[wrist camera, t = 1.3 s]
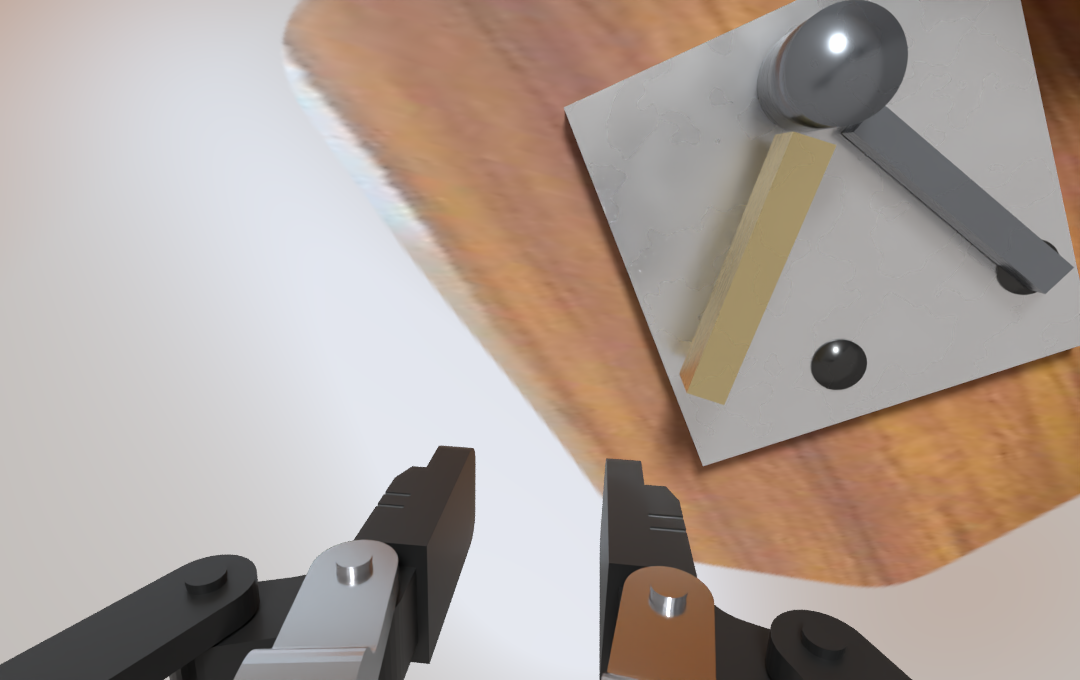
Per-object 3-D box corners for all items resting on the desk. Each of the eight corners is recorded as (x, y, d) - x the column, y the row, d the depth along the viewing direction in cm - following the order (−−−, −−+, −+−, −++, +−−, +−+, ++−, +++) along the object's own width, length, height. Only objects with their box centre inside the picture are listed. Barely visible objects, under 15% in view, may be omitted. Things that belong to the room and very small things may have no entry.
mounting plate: (984, -83, 23) (1083, -148, 18) (1075, 335, 27) (1176, 371, 22) (565, 109, 27) (557, 97, 22) (700, 456, 31) (718, 510, 26)
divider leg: (766, 136, 25) (793, 131, 21) (803, 148, 25) (836, 145, 21) (676, 365, 28) (686, 393, 25) (708, 375, 28) (724, 405, 25)
